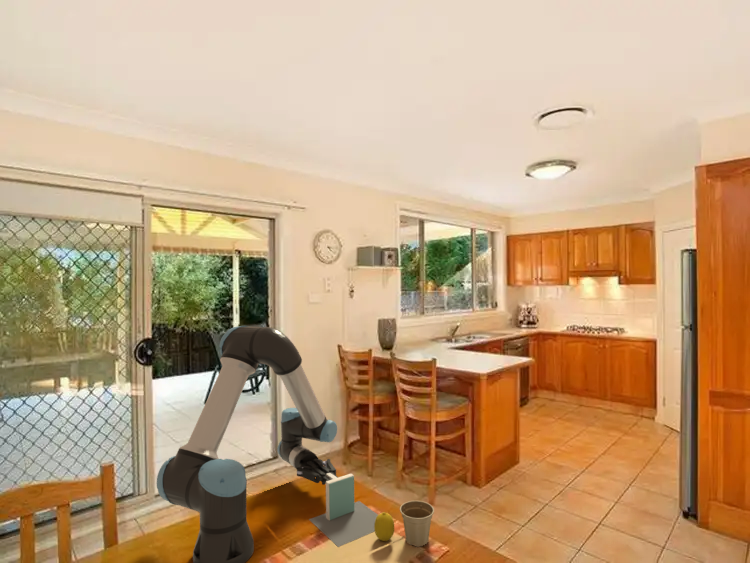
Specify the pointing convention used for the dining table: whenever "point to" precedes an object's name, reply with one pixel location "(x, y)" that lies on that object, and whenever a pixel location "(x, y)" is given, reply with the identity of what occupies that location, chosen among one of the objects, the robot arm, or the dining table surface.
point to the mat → (347, 525)
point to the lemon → (384, 526)
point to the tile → (339, 496)
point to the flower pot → (417, 521)
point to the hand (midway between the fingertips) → (338, 484)
